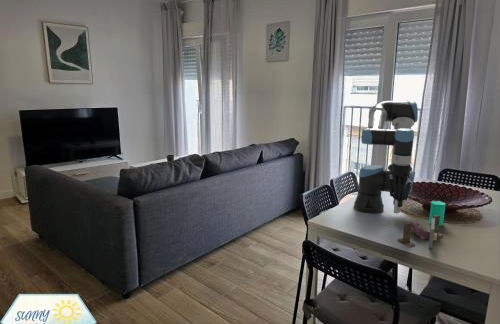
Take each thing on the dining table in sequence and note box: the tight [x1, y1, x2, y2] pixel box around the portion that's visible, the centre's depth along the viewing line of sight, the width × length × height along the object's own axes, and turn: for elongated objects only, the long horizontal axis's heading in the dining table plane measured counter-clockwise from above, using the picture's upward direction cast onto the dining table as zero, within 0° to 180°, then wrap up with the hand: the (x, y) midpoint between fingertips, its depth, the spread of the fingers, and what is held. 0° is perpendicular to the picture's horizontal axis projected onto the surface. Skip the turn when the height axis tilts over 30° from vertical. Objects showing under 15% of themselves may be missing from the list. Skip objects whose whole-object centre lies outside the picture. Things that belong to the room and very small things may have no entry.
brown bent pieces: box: [397, 215, 444, 248], centre depth 143 cm, size 6×21×9 cm, turn 116°
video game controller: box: [409, 220, 430, 240], centre depth 148 cm, size 10×5×7 cm, turn 176°
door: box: [428, 217, 438, 249], centre depth 140 cm, size 2×14×8 cm, turn 151°
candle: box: [428, 199, 447, 227], centre depth 159 cm, size 6×6×12 cm
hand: (396, 212), depth 156 cm, fingers closed
